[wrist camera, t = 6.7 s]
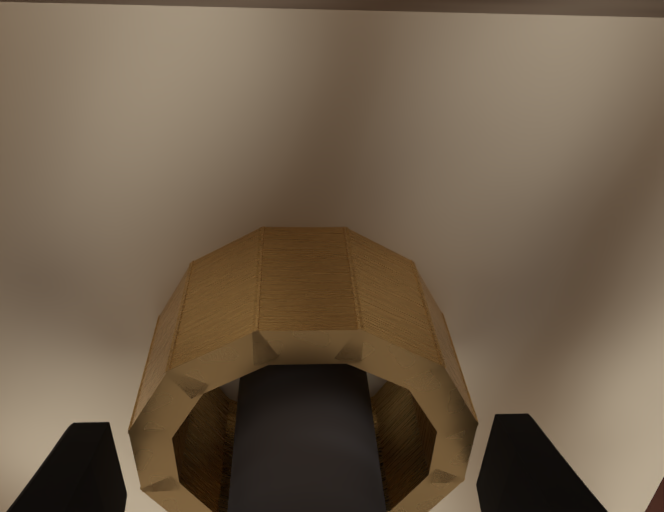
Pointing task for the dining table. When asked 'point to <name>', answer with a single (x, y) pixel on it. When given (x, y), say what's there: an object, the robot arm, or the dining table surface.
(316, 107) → the piston block
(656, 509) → the dining table surface
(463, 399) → the wooden ring
